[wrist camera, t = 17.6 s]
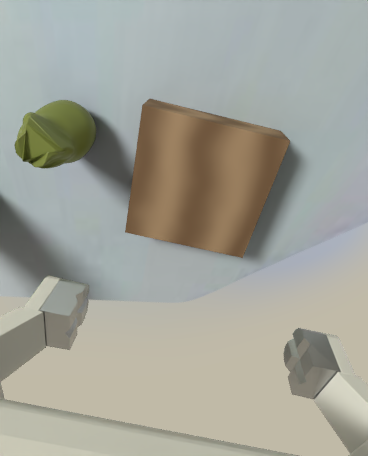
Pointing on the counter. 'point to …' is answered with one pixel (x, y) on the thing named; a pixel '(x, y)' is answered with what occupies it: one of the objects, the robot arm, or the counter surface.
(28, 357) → the robot arm
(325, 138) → the counter surface
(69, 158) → the pear
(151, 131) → the block
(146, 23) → the counter surface
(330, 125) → the counter surface
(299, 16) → the counter surface
